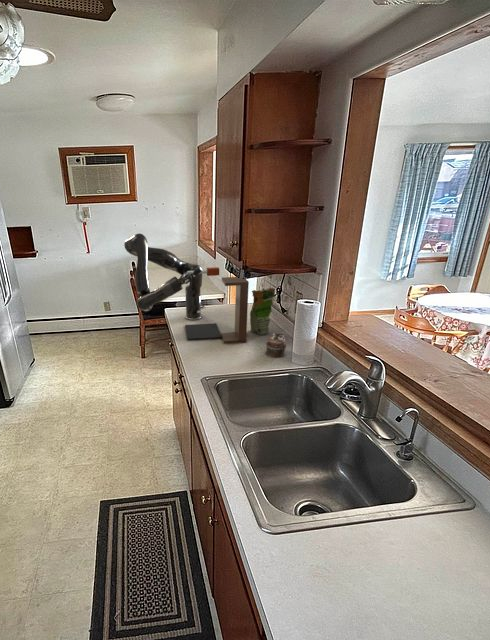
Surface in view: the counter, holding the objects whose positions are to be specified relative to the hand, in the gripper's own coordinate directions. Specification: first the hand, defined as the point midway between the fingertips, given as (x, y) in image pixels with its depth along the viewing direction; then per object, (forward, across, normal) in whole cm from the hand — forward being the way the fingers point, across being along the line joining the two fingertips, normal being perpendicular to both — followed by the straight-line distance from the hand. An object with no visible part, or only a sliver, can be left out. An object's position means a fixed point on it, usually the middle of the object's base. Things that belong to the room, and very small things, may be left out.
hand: (200, 269), depth 197 cm
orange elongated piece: (0, 0, +3) cm, 4 cm away
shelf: (-4, -4, +41) cm, 41 cm away
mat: (-17, +8, +33) cm, 38 cm away
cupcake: (+11, -26, +49) cm, 57 cm away
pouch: (+11, +4, +49) cm, 50 cm away
